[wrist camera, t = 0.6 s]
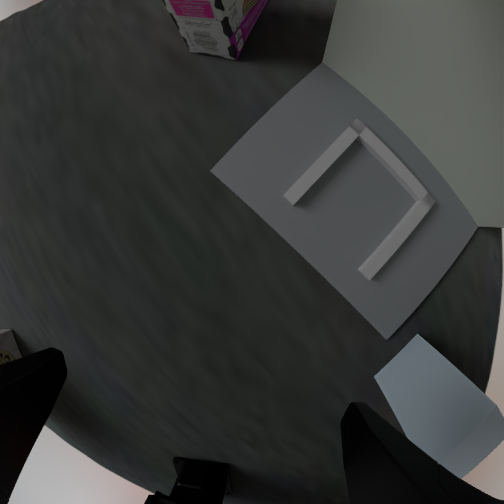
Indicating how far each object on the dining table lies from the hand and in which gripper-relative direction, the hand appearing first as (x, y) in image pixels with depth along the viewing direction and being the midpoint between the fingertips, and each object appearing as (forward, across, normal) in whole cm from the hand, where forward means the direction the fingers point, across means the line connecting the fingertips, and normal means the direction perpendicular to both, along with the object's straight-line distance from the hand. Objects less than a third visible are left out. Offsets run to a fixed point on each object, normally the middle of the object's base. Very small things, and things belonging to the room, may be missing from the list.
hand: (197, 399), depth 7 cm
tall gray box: (+13, -18, +8) cm, 23 cm away
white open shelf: (+16, -10, -7) cm, 20 cm away
